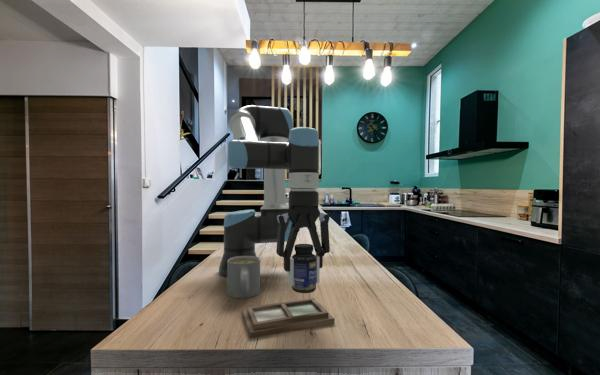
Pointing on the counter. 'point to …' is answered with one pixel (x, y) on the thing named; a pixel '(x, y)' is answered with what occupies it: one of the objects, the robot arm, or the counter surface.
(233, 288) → the coffee mug
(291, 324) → the divided wooden tray
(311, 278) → the pill bottle
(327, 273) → the counter surface
